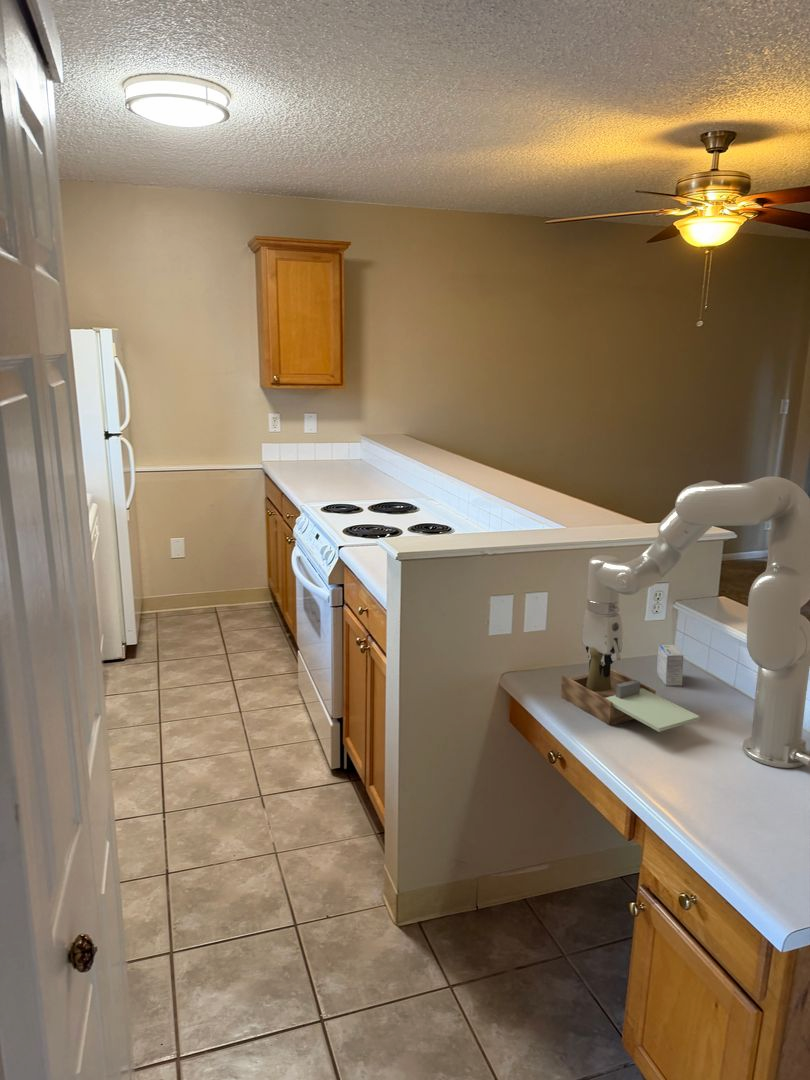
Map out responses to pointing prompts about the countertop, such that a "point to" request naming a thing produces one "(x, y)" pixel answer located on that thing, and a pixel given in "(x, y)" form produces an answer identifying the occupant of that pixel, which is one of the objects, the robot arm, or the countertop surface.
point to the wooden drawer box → (596, 697)
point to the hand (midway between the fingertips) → (599, 675)
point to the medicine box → (670, 665)
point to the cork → (597, 673)
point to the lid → (649, 707)
